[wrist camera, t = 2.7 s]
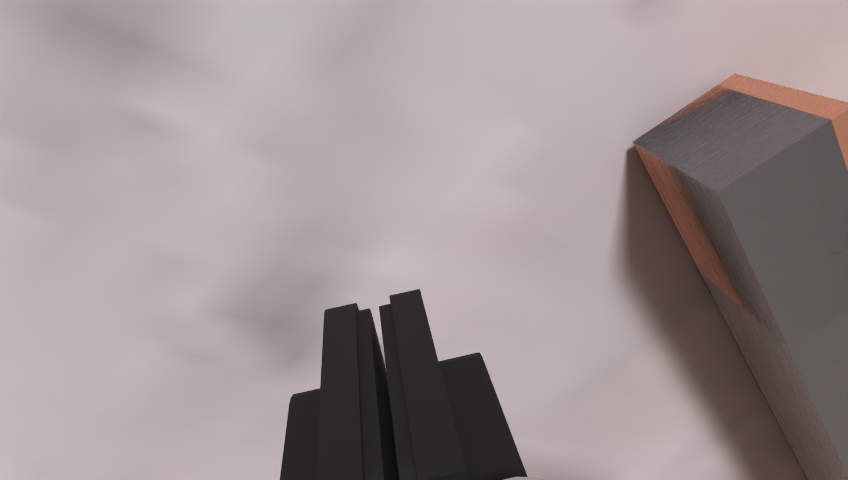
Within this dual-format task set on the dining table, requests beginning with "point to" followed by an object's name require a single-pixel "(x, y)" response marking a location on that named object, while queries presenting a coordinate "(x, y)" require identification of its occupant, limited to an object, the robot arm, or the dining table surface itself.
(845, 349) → the tongs free arm
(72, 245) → the dining table surface
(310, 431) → the robot arm
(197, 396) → the dining table surface
